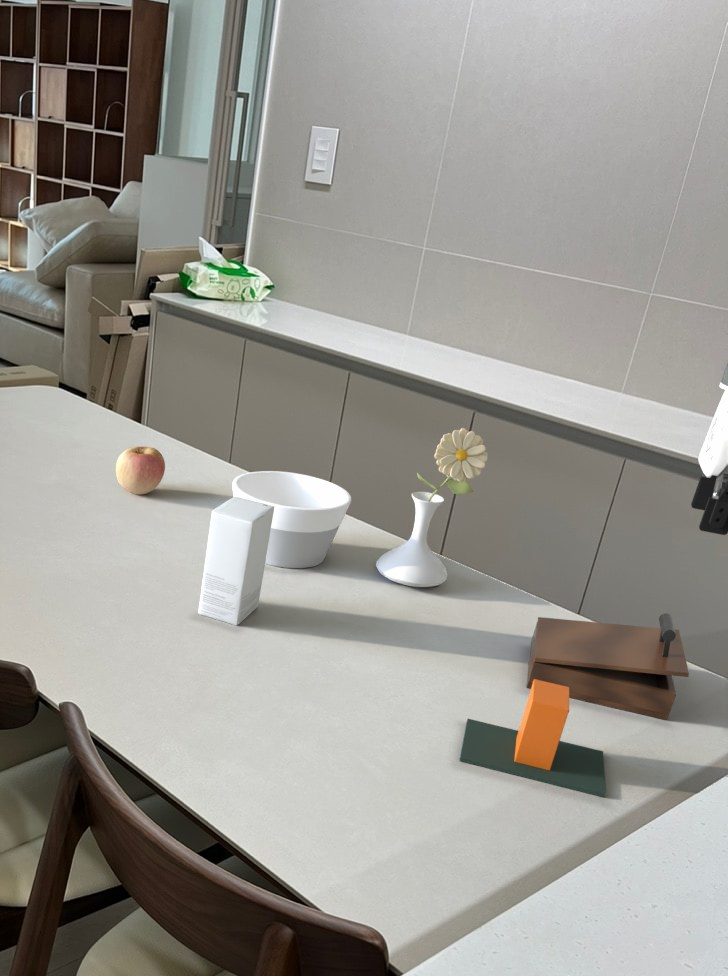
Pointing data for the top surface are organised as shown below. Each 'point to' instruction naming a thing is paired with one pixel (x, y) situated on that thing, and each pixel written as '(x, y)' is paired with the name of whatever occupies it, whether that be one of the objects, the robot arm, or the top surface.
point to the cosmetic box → (235, 559)
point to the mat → (567, 770)
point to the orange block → (542, 724)
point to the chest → (608, 685)
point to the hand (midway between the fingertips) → (707, 520)
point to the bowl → (296, 514)
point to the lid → (612, 646)
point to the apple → (140, 469)
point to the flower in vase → (415, 558)
